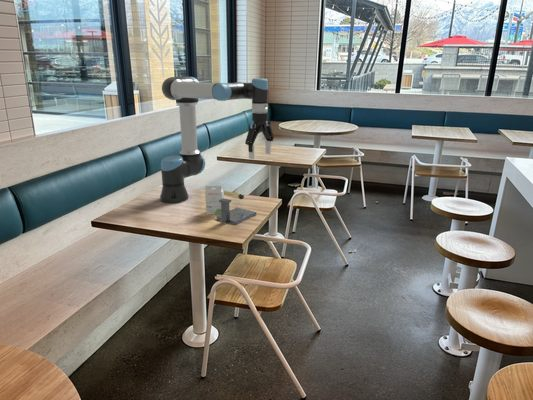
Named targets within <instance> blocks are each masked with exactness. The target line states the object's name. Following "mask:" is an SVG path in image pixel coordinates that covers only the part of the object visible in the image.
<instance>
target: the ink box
mask: <svg viewBox="0 0 533 400" xmlns="http://www.w3.org/2000/svg"><path fill="white" fill-rule="evenodd" d="M204 187H205V188H204V189H205V190H204V193H205V194H204V195H205V198H204V199H205V211H206V212H205V213H206V214H208V215H221V202H219V200H220V199H223V198H225V195H224V191H225V190H224V188H222V186H221V185H207V184H206V185H204Z"/></svg>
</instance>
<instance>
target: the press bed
mask: <svg viewBox="0 0 533 400" xmlns="http://www.w3.org/2000/svg"><path fill="white" fill-rule="evenodd" d="M219 202H221V214H217V215H216V220H218V221H221V223H224V224H228V223H229V224H233V225H238V224H240V223H243V222H244V221H246V220H249V219H252V218H253V217H256V216H257V211H254V210H250V209H249V210H248V209H245V208H241V207H235V208H233V209H231V208H230V203H231V202H232V199H229V198H225V197H224V198H223V199H220V200H219ZM230 209H231V210H230Z"/></svg>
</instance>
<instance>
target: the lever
mask: <svg viewBox="0 0 533 400" xmlns="http://www.w3.org/2000/svg"><path fill="white" fill-rule="evenodd" d="M224 196H228V197H231V198H236V199H240V200H244V198H245V195H244V194H243V193H237V192H232V191H228V190H224Z"/></svg>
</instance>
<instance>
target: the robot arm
mask: <svg viewBox="0 0 533 400" xmlns="http://www.w3.org/2000/svg"><path fill="white" fill-rule="evenodd" d="M268 83H269V81H268V79H267V78H252V79H251V82H241V81H238V82H227V83H225V82H200V81H199V80H198V79H197V78H196V77H193V76H172V77H171V76H169V77H168V78H166V79H165V80H163V83H162V84H161V85H162V86H161V91H162V94H163V96H164V97H165V98H167V100H168V99H169V100H172V101H175V103H176V104H177V106H179V121H180V136H181V137H180V139H181V150H180V151H179V155H178V154H177V155H176V154H175V155H169V156H166V157H164V158H162V159H161V161H160V170H161V171H160V172H161V182H162V184H161V185H162V187H161V192H160V195H159V196H160V197H159V200H160V202H162V203H165V204H177V203H178V204H179V203H183V202H185V201H188V199H189V193H188V191H187V188H186V186H185V178H189V177H193V176H197V175H199V174H201V173H202V172H203V171H204V170H205V166H206V160H205V157H204V156H203V155H202V154H201V151H200V149H198V133H197V132H198V131H197V116H196V113H197V112H196V105H197V104H198V103H199V101H198V100H199V99H200V100H201V99H204V100H216V101H220V102H223V101H224V102H225V101H231V100H233V101H234V100H244V99H245V100H246V99H247V100H251V112H252V113H251V120H252V121H253V123H249V125H248V132H247V135H246V138H245V139H246V140H245V142H244V143H245V145H247V146H248V147H247V149H248V159H249V160H255V145H254V144H255V142H256V139H257V137H258V135H259V134H260V133H262V134H263V136H264V138H265V139H266V140H265V155H271V154H272V153H271V152H272V150H271V149H272V148H271V147H272V142H273V141H274V139H275V138H274V134H273V130H272V126H271V121H268V120H269V112H268V111H269V109H268V108H269V104H268V103H269V97H268V96H269V84H268Z"/></svg>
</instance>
